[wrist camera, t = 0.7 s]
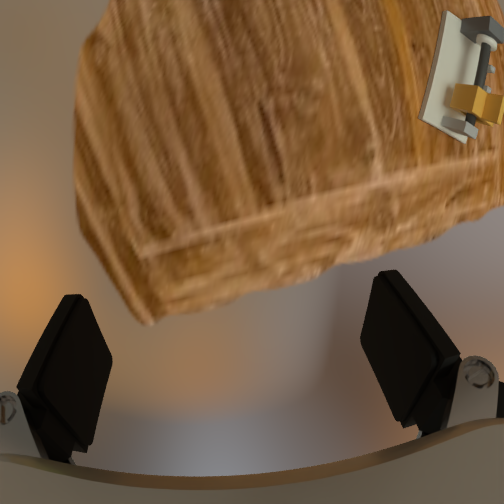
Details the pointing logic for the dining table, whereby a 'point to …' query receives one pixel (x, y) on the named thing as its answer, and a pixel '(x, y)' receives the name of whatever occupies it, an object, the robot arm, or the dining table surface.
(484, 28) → the linear slide rail
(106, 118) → the dining table surface
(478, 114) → the sleeve
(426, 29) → the dining table surface
